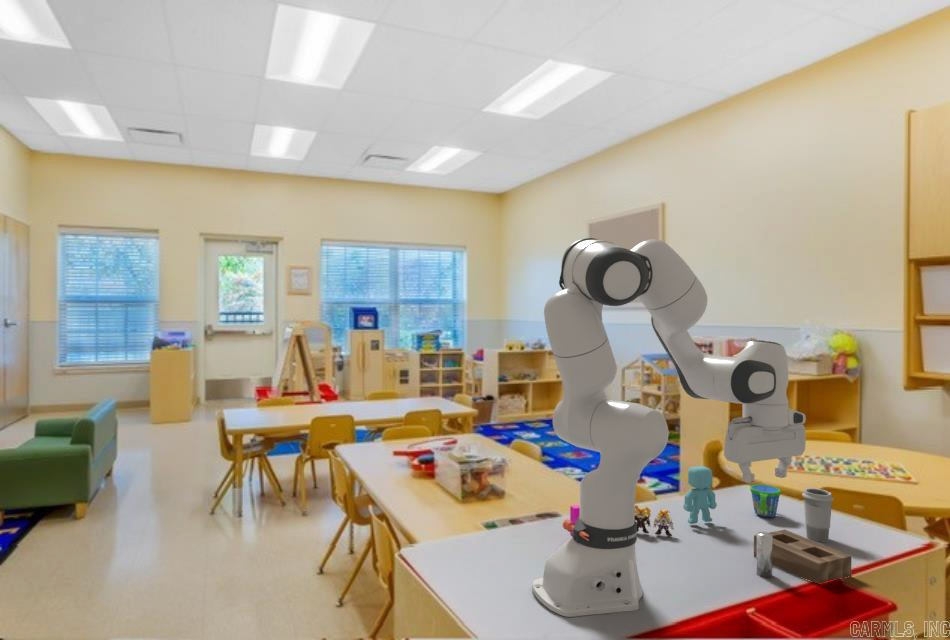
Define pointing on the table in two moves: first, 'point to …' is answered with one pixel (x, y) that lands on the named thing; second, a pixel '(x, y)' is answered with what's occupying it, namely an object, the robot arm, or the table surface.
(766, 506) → the snack cup
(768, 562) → the peg
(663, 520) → the figurine set
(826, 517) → the cup
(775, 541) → the hole block
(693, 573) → the table surface
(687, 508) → the toy
